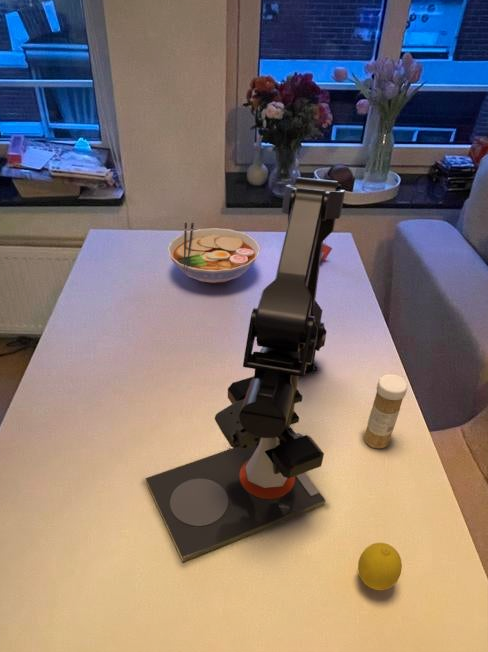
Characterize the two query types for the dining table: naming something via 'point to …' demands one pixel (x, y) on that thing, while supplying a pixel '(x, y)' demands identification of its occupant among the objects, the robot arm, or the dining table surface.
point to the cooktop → (224, 501)
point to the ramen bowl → (213, 253)
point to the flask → (264, 466)
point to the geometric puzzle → (325, 252)
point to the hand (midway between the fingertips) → (268, 460)
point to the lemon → (380, 566)
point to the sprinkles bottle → (385, 410)
